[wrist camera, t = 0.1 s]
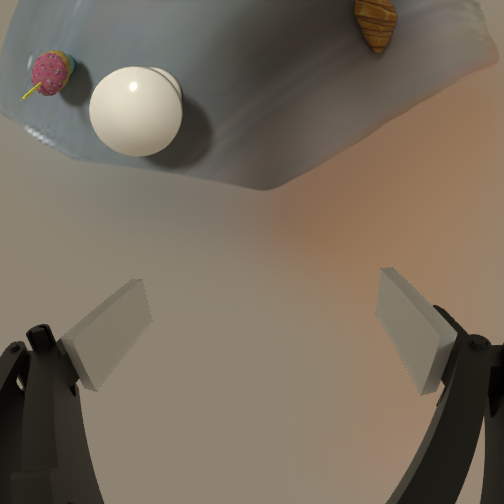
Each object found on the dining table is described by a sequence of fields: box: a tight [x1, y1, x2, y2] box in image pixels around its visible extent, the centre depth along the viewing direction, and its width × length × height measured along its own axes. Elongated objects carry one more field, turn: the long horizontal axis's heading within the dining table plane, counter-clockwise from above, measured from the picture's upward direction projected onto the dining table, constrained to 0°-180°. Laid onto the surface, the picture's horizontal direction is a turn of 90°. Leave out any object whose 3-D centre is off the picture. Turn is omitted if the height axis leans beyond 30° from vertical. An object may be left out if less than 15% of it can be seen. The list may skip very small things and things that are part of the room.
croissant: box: [354, 0, 397, 52], centre depth 22 cm, size 14×7×5 cm, turn 12°
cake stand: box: [89, 66, 183, 156], centre depth 35 cm, size 15×15×8 cm
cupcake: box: [20, 50, 75, 102], centre depth 26 cm, size 9×8×12 cm
